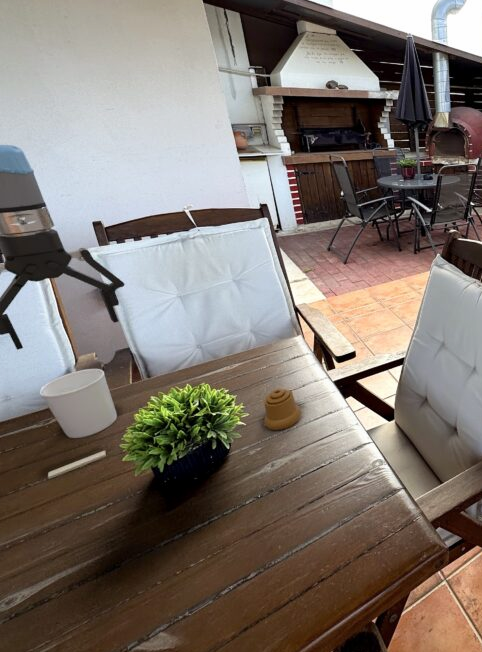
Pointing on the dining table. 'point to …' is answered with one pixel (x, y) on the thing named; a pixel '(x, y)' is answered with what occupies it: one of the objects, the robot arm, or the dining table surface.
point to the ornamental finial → (281, 410)
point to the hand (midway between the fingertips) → (70, 332)
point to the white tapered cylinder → (80, 402)
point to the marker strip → (76, 464)
